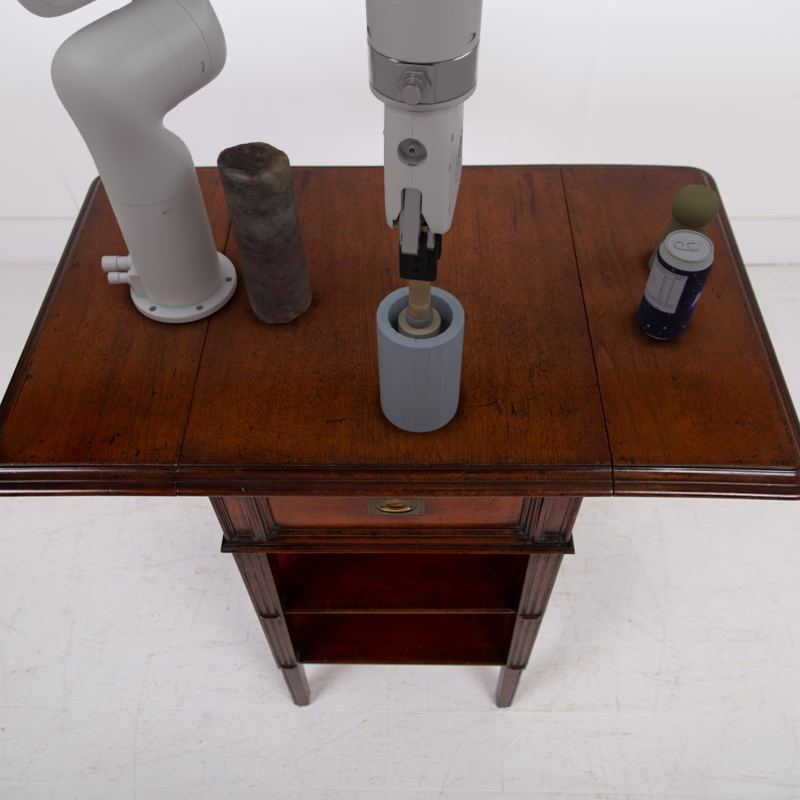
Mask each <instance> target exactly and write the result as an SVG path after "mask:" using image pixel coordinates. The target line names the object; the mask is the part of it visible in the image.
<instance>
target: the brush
mask: <svg viewBox="0 0 800 800" xmlns="http://www.w3.org/2000/svg"><path fill="white" fill-rule="evenodd" d="M420 231H423V232H426V233H427V226H421V229H420ZM408 286H409V306H408V307H407V308H405V309H404V310H403V311H402V312H401V313H400V315H399V317H398V333H399V334H401V335H403V336H405V337H409V338H413V339H429V338H433V337H436V336H438V335H440V327H441V318H440V315H439V313H438V312H437V311H436V310H435V309H434V308H432V307H431V286H432V282H428V281H419V280H410V279H408Z"/></svg>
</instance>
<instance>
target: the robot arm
mask: <svg viewBox="0 0 800 800" xmlns="http://www.w3.org/2000/svg"><path fill="white" fill-rule="evenodd" d="M16 1H17V2H18V3H19V4H20V5H21V6H22V7H23V8H24V9H25V10H27V11H28V12H29V13H31V14H33V15H35V16H37V17H38V18H39V17H40V18H44V19H50V18H58V17H61V16H64V15H67V14H71V13H72V12H75V11H77V10H79V9H82V8H83V7H86V6H88V5H89V4H92V3H94V2H97V0H16ZM483 2H484V0H365V20H366V22H365V23H366V46H367V47H366V48H367V66H368V67H367V68H368V86H369V89H370V90H369V91H370V92H371V94H372V95H373V97H375V98H376V99H377V100H378V101H380V102H382V103H383V132H382V134H383V135H382V136H383V182H384V183H383V185H384V187H383V188H384V210H385V219H386V224H387V226H388V227H389V228H391V229H392V230H395V229H396V228H397V227H399V230H398V231H399V238H398V239H399V240H398V275H399V276H398V277H400V279H403V280H409V279H410V280H419V281H428V282H431V283H434V282H436V281H437V277H438V264H439V263H438V261H439V260H440V259H441V257H442V251H443V250H442V248H443V247H442V246H443V235H444V234H446V233H447V232H449V230H450V229H451V227H452V223H453V218H454V214H455V209H456V204H457V199H458V194H459V188H460V183H461V177H462V170H463V140H464V139H463V137H464V112H465V109H464V108H465V107H464V106H465V102H466V101H467V100H469V99H470V98H471V97H472V96H473V95H474V93H475V91H476V89H477V86H478V72H479V58H480V57H479V56H480V46H481V45H480V44H481V30H482V17H483V16H482V15H483V4H484V3H483ZM227 51H228V50H227V41H226V36H225V34H224V31H223V28H222V25H221V22H220V20H219V18H218V15H217V14H216V11H215V9H214V7H213V5H212V3H211V1H210V0H131V2H129V3H126V4H125V5H123V6H122V7H120V8H117V9H114V10H113V11H110V12H109V13H106V14H105V15H103V16H101V17H99V18H97V19H95V20H93V21H92V22H90V23H88V24H86V25H84V26H83V27H81V28H79V29H77V31H74V33H72V34H71V35H70V36H69V37H68V38H66V39H65V40H64V41H63V42H62V43H61V44H60V45H59V46H58V48H57V50H56V51H55V53H54V55H53V57H52V60H51V65H50V78H51V83H52V86H53V88H54V91H55V93H56V95H57V97H58V99H59V101H60V102H61V105H62V106H63V108H64V109H65V111H66V112H67V114H68V116H69V117H70V119H71V120H72V122H73V124H74V125H75V127H76V129H77V131H78V133H79V134H80V136H81V138H82V139H83V142H84V143H85V145H86V148H87V150H88V151H89V154H90V156H91V158H92V160H93V163H94V165H95V167H96V168H95V169H96V170H97V173H98V175H99V177H100V180H101V182H102V185H103V188H104V191H105V193H106V195H107V198H108V200H109V203H110V206H111V208H112V211H113V214H114V215H115V216H114V217H115V219H116V222H117V224H118V226H119V229H120V233H121V235H122V238H123V240H124V243H125V245H126V248H127V251H128V255H127V256H126V255H125V256H122V255H121V256H120V255H103V256H102V257H101V269H102V270H103V272H104V273H107V281H108V282H107V283H109V284H110V285H121V284H128V285H129V286H130V289H129V291H130V297H131V299H132V302H133V304H134V306H135V308H137V310H138V311H139V312H140V313H141V314H143V315H144V316H145V317H147V318H149V319H152V320H153V321H158V322H160V323H166V324H167V323H169V324H182V323H183V324H184V323H190V322H195V321H198V320H201V319H204V318H206V317H209V316H211V315H213V314H214V313H216V312H217V311H219V310H221V308H222V307H224V306H225V305H227V304H228V302H229V301H230V300H231V298H232V297H233V295H234V294H235V292H236V288H237V284H238V276H237V273H236V268H235V266H234V264H233V262H232V261H231V260H230V259H229V257H227V256H226V255H224V254H223V253H222V252H220V251H218V250H217V247H216V243H215V239H214V235H213V231H212V228H211V223H210V219H209V216H208V212H207V208H206V204H205V200H204V196H203V193H202V189H201V185H200V182H199V178H198V173H197V170H196V167H195V163H194V159H193V156H192V153H191V150H190V149H189V147H188V145H187V144H186V142H185V141H184V140H183V139H182V138H181V137H180V136H179V135H177V134H176V133H175V132H173V131H171V130H170V129H168V128H167V127H165V125H164V118H165V117H166V115H167V113H169V112H170V111H172V110H174V109H175V108H176V107H177V106H179V104H181V103H182V102H183V101H185V100H186V99H188V98H189V97H191V96H192V95H194V94H195V93H197V92H198V91H200V90H201V89H204V87H206V86H207V85H209V84H210V83H211V82H213V81H214V80H215V79H217V77H218V76H220V74H221V72H222V71H223V70H224V67H225V65H226V62H227V58H228V57H227V54H228V52H227ZM398 225H399V226H398ZM421 226H427V233H426V232H423V231H420V229H421Z"/></svg>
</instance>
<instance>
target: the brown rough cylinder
mask: <svg viewBox="0 0 800 800" xmlns="http://www.w3.org/2000/svg"><path fill="white" fill-rule="evenodd" d="M216 166H217V170H218V174H219V179H220V182H221V186H222V189H223V194H224V198H225V202H226V206H227V210H228V215H229V219H230V223H231V227H232V231H233V234H234V241H235V244H236V249H237V254H238V257H239V261H240V265H241V266H240V267H241V270H242V274H243V279H244V284H245V288H246V292H247V295H248V299H249V304H250V306H251V309H252V310H253V312H254V313H255V315H256V316H257V317H258V319H259V320H260V321H262V322H263V323H265V324H270V325H271V324H272V325H273V324H275V325H276V324H287V323H290V322H292V321H294V319H295V318H297V317H299V316H300V315H301V314H304V313H305V312H307V310H308V309H309V307H310V305H311V304H312V297H313V293H312V286H311V285H312V284H311V279H310V274H309V268H308V263H307V258H306V251H305V246H304V242H303V241H304V240H303V234H302V230H301V229H302V228H301V224H300V218H299V211H298V204H297V198H296V191H295V186H294V180H293V176H292V175H293V174H292V167H291V162H290V158H289V156H288V154H287V153H286V152H285V151H284V150H281V149H278V147H275V146H274V145H272V144H270V143H268V142H263V141H253V142H246V143H240V144H236V145H233V146H230V147H229V146H228V147H226V148H224V149H223V150H221V151H220V152H219V154H218V156H217V159H216Z"/></svg>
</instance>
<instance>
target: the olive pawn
mask: <svg viewBox="0 0 800 800" xmlns="http://www.w3.org/2000/svg"><path fill="white" fill-rule="evenodd" d="M670 205H671V208H670V209H671V214H672V215H671V216H670V219H669V221H668V223H667V225H666V227H665V229H664V231H663V233H662V235H661V237H660V239H659V241H658V243H657V245H656V246H655V249H654V251H653V252H652V254H651V256H650V259H649V261H648V268H649V270H650V271H651V269H652V266H653V263H654V260H655V257H656V254H657V251H658V248H659V246H660V244H661V243H662V242H663V241H664V240H665V239H666V237H667V236H668V235H669V234H670V233H672V232H674V231H678V230H691V231H696V232H699V233H701V234H703V235H705V236H706V237H707V234H708V229H709V226H710V223H712V222H713V221H714V220H715V219H716V217H717V215H718V213H719V211H720V209H721V200H720V197H719V195H718V194H717V191H715V190H714V189H712V188H710V187H709V186H706V185H703V184H698V183H697V184H696V183H695V184H694V183H693V184H687V185H684V186H682V187H681V188H679V189H678V190H677V191H676V192H675V194H674V196H673V197H672V201H671V203H670Z"/></svg>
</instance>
